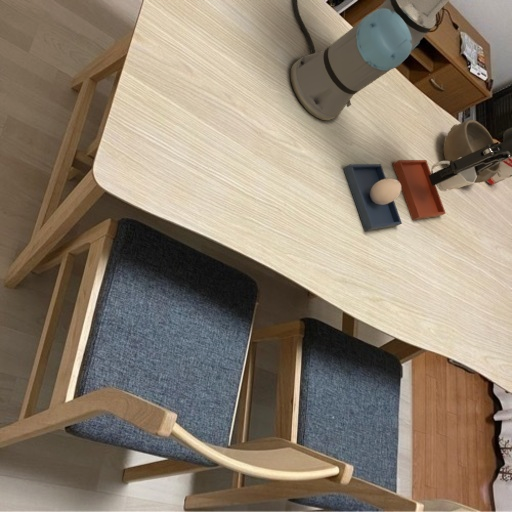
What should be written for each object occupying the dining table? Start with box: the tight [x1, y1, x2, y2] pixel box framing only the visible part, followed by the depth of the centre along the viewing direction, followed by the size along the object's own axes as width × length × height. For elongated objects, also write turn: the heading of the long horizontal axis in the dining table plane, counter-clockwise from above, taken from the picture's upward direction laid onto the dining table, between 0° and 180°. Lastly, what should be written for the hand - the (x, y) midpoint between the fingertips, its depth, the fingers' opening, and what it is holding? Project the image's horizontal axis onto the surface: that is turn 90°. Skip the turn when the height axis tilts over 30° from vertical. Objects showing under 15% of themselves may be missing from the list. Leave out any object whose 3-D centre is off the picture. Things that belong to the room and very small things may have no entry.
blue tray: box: [343, 163, 403, 232], centre depth 132 cm, size 15×12×2 cm
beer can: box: [485, 157, 512, 185], centre depth 172 cm, size 6×6×16 cm
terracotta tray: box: [392, 159, 447, 221], centre depth 147 cm, size 15×13×2 cm
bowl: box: [443, 119, 501, 184], centre depth 163 cm, size 17×18×10 cm
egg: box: [370, 178, 402, 205], centre depth 129 cm, size 6×6×8 cm
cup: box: [430, 157, 477, 192], centre depth 140 cm, size 7×10×8 cm
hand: (439, 180), depth 142 cm, fingers closed on cup, 8 cm apart
